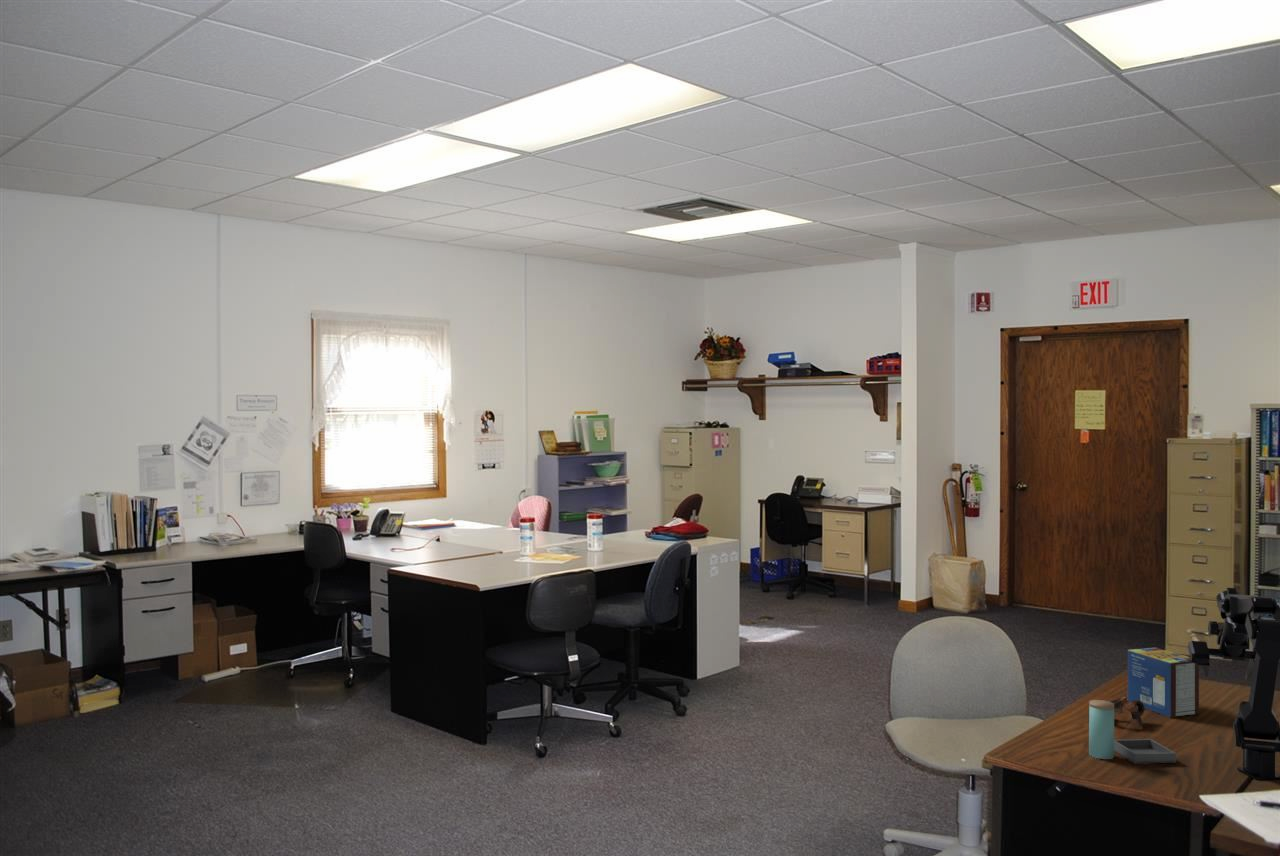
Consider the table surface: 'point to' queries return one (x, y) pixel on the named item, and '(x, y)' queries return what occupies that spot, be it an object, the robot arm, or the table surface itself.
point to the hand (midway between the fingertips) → (1226, 676)
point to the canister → (1101, 729)
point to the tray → (1144, 751)
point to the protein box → (1163, 681)
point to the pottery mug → (1132, 708)
